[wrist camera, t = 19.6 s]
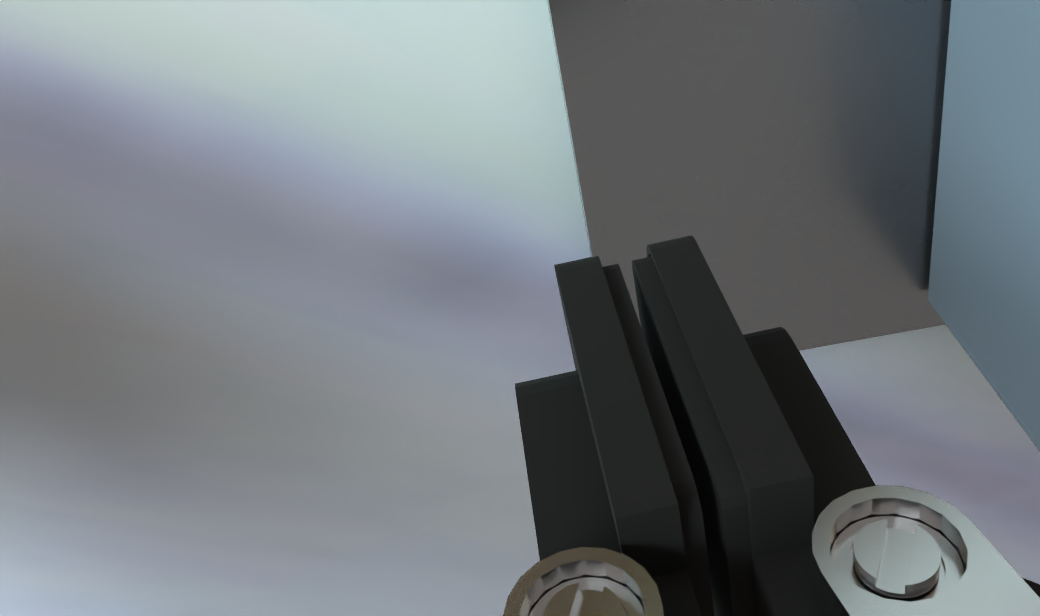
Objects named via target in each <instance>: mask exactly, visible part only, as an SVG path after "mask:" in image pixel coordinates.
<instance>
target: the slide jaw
mask: <svg viewBox="0 0 1040 616" xmlns="http://www.w3.org/2000/svg"><path fill="white" fill-rule="evenodd" d="M928 301H929V302H930V304H931V305H932V307H933V308H934V309H935V311H936V312H937V313H938V315H939V316H940V317H941V319H942V320H943V321H944V323H945V324H946V325H947V327H948V328H949V329H950V331H951V332H952V334H953V335H954V336H955V338H956V339H957V340H958V342H959V343H960V344H961V346H962V347H963V348H964V350H965V351H966V352H967V354H968V355H969V356H970V358H971V359H972V361H973V362H974V363H975V365H976V366H977V367H978V369H979V370H980V371H981V373H982V374H983V375H984V377H985V378H986V379H987V381H988V382H989V383H990V385H991V386H992V388H993V389H994V390H995V392H996V393H997V394H998V396H999V397H1000V398H1001V400H1002V401H1003V402H1004V404H1005V405H1006V406H1007V408H1008V409H1009V410H1010V412H1011V413H1012V415H1013V416H1014V417H1015V419H1016V420H1017V421H1018V423H1019V424H1020V425H1021V427H1022V428H1023V429H1024V431H1025V432H1026V433H1027V435H1028V436H1029V437H1030V439H1031V440H1032V441H1033V443H1034V444H1035V446H1036V447H1037V448H1038V450H1039V451H1040V0H951V11H950V24H949V37H948V49H947V62H946V75H945V87H944V100H943V112H942V125H941V138H940V150H939V163H938V176H937V188H936V201H935V214H934V226H933V239H932V251H931V264H930V277H929V289H928Z"/></svg>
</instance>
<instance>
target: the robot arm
mask: <svg viewBox="0 0 1040 616" xmlns="http://www.w3.org/2000/svg"><path fill="white" fill-rule="evenodd" d="M646 254H647V257H646V258H641V259H636V260H632V270H633V277H634V284H635V291H636V298H637V304H638V311H639V318H640V323H639V320H638V317H637V314H636V312H635V309H634V306H633V303H632V300H631V297H630V294H629V292H628V289H627V286H626V283H625V280H624V277H623V274H622V272H621V269H620V266H619V264H614V265H609V266H604V267H602V264H601V261H600V259H599V256H594V257H590V258H585V259H580V260H576V261H571V262H567V263H562V264H558V265H554V266H555V272H556V277H557V282H558V286H559V291H560V296H561V301H562V306H563V310H564V315H565V320H566V325H567V330H568V334H569V339H570V344H571V349H572V354H573V359H574V363H575V368H576V371H572V372H568V373H563V374H559V375H554V376H549V377H545V378H540V379H535V380H531V381H526V382H521V383H517V384H515V389H516V398H517V404H518V411H519V418H520V425H521V432H522V439H523V446H524V453H525V460H526V467H527V474H528V481H529V487H530V494H531V501H532V508H533V515H534V522H535V529H536V536H537V543H538V550H539V557H540V561H539V562H537V563H536V564H535V565H534V566H533V567H532V568H530V569H529V570H528V571H527V572H526V573H525V574H524V575H523V576H521V577H520V578H519V580H518V582H517V583H516V585H515V586H514V588H513V590H512V591H511V593H510V594H509V596H508V599H507V603H506V607H505V611H504V615H503V616H1040V585H1039V584H1037V583H1034V582H1032V581H1029V580H1026V579H1024V578H1021V576H1020V575H1019V574H1018V573H1017V572H1016V571H1015V570H1014V569H1013V567H1012V566H1011V565H1010V564H1009V563H1008V562H1007V561H1006V560H1005V558H1004V557H1003V556H1002V555H1001V554H1000V553H999V552H998V551H997V549H996V548H995V547H994V546H993V545H992V544H991V543H990V542H989V541H988V539H987V538H986V537H985V536H984V535H983V534H982V533H981V532H980V530H979V529H978V528H977V527H976V526H975V525H974V524H973V523H972V521H971V520H969V519H968V518H967V517H966V516H965V515H963V514H962V513H961V512H960V511H959V510H958V509H956V508H955V507H954V506H953V505H952V504H950V503H948V502H946V501H944V500H942V499H940V498H938V497H936V496H934V495H932V494H930V493H927V492H923V491H919V490H915V489H911V488H907V487H903V486H878V485H877V486H876V485H875V484H874V482H873V480H872V478H871V477H870V475H869V473H868V471H867V469H866V468H865V466H864V464H863V462H862V461H861V459H860V457H859V455H858V454H857V452H856V450H855V448H854V447H853V445H852V443H851V441H850V440H849V438H848V436H847V434H846V433H845V431H844V429H843V427H842V426H841V424H840V422H839V420H838V419H837V417H836V415H835V413H834V412H833V410H832V408H831V406H830V405H829V403H828V401H827V399H826V398H825V396H824V394H823V392H822V391H821V389H820V387H819V385H818V384H817V382H816V380H815V378H814V377H813V375H812V373H811V371H810V370H809V368H808V366H807V364H806V363H805V361H804V359H803V357H802V356H801V354H800V352H799V350H798V348H797V347H796V345H795V343H794V341H793V340H792V338H791V337H790V335H789V334H788V332H787V331H786V330H785V329H784V328H782V327H777V328H772V329H768V330H763V331H758V332H754V333H749V334H744V335H743V334H742V332H741V330H740V328H739V326H738V324H737V322H736V320H735V318H734V316H733V314H732V312H731V310H730V308H729V306H728V304H727V302H726V300H725V298H724V296H723V294H722V292H721V290H720V288H719V286H718V284H717V282H716V280H715V278H714V276H713V274H712V272H711V270H710V268H709V266H708V264H707V262H706V260H705V258H704V256H703V254H702V252H701V250H700V248H699V246H698V244H697V242H696V240H695V238H694V237H693V236H692V235H690V236H685V237H681V238H676V239H672V240H667V241H663V242H658V243H653V244H649V245H647V247H646ZM640 324H641V326H640Z"/></svg>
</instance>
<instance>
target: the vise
mask: <svg viewBox="0 0 1040 616" xmlns="http://www.w3.org/2000/svg"><path fill="white" fill-rule="evenodd" d="M547 2H548V8H549V14H550V19H551V25H552V31H553V37H554V43H555V49H556V54H557V60H558V66H559V72H560V78H561V83H562V89H563V95H564V101H565V107H566V113H567V118H568V124H569V130H570V136H571V142H572V148H573V153H574V159H575V165H576V171H577V177H578V182H579V188H580V194H581V200H582V206H583V212H584V217H585V223H586V229H587V235H588V241H589V247H590V252H591V257H594V256H599V259H600V261H601V264H602V267H604V266H609V265H614V264H619V266H620V269H621V272H622V274H623V277H624V280H625V283H626V286H627V289H628V292H629V294H630V297H631V300H632V303H633V306H634V309H635V312H636V314H637V317H638V320H639V323H640V318H639V311H638V304H637V298H636V291H635V284H634V277H633V270H632V260H636V259H641V258H646V257H647V254H646V247H647V245H649V244H653V243H658V242H663V241H667V240H672V239H676V238H681V237H685V236H690V235H692V236H693V237H694V238H695V240H696V242H697V244H698V246H699V248H700V250H701V252H702V254H703V256H704V258H705V260H706V262H707V264H708V266H709V268H710V270H711V272H712V274H713V276H714V278H715V280H716V282H717V284H718V286H719V288H720V290H721V292H722V294H723V296H724V298H725V300H726V302H727V304H728V306H729V308H730V310H731V312H732V314H733V316H734V318H735V320H736V322H737V324H738V326H739V328H740V330H741V332H742V334H743V335H744V334H749V333H754V332H758V331H763V330H768V329H772V328H777V327H782V328H784V329H785V330H786V331H787V332H788V334H789V335H790V337H791V338H792V340H793V341H794V343H795V345H796V347H797V348H798V350H804V349H809V348H815V347H821V346H826V345H832V344H837V343H843V342H848V341H854V340H860V339H865V338H871V337H876V336H882V335H887V334H893V333H899V332H904V331H910V330H915V329H921V328H927V327H932V326H938V325H943V324H945V323H944V321H943V320H942V319H941V317H940V316H939V315H938V313H937V312H936V311H935V309H934V308H933V307H932V305H931V304H930V302H929V301H928V289H929V277H930V264H931V251H932V239H933V226H934V214H935V201H936V188H937V176H938V163H939V150H940V138H941V125H942V112H943V100H944V87H945V75H946V62H947V49H948V37H949V24H950V11H951V0H547ZM640 326H641V324H640Z"/></svg>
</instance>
